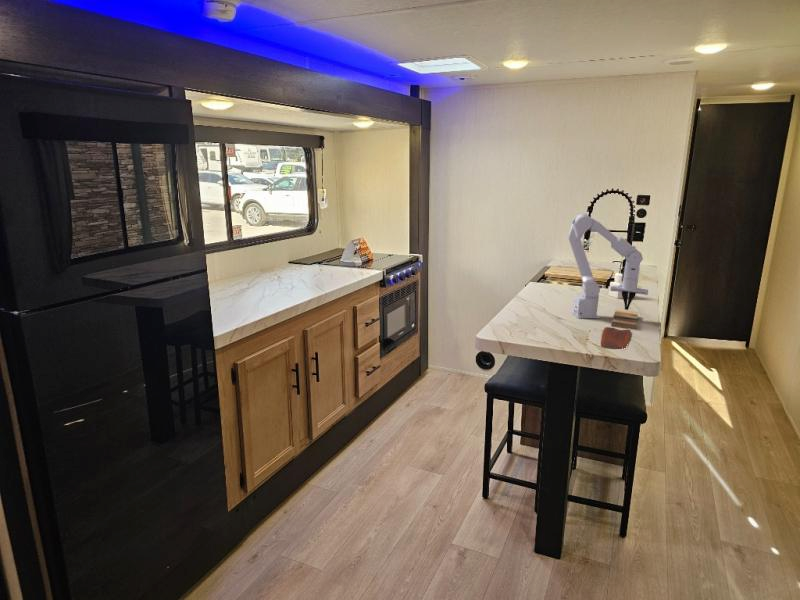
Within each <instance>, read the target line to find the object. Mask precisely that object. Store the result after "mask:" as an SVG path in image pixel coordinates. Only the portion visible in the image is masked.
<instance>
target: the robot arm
mask: <svg viewBox="0 0 800 600" xmlns="http://www.w3.org/2000/svg"><path fill="white" fill-rule="evenodd" d="M587 231H591V232H597V233H598V234H599V235H600V236H602V237H603V238H604V239H606V240H607V241H609V242H610V247H611V249H613V250H614V251H615V252H616V253H617V254H619V255H620V256H621V257H622V258H625V265H624V270H623V273H624V277H623V285H622V286H611V289H610V288H609V289H610V291H618V292H622V297H623V298H622V300H623V303H624V311H629V309H630V305H631V303H632V301H633V300H634V299H635V297H636V294H637V295H645V296H648V295H649V289H646V288H645V289H644V288H639V287H638V285H639V284H638V283H639V277H640V269H641V266H640V265H641V262H642V261H643V259H644V257H643V255H642V252H640V251H639V250H638V249H637V247H636V246H635V245H632V244H630V243H629V242H628V239H627V237H622V236H616V235H614V234H613V233H612V232H611V231H610V230H609V229H607V228H606V227H605V225H603V224H602V223H601V222H599V221H597V220H596V219H594V218H592V217H590V216H589V215H588V214H586V213H579V214H577V215H576V216H575V217H574V219H572V222H571V225H570V230H569V233H568V241H569V244H570V247H571V251H572V252H573V253H572V254H573V256H574V260H575V262H576V266H577V268H578V271H579V273H580V274H579V275H580V278H581V280H582V284H581V287H582V293H580V295H576V296H575V297H574V300H573V308H572V309H573V310H572V311H571V312H572V313H571V314H572V315H574V316H575V317H576V318H578V319H601V316H600V315H598V306H599V297H600V296H599V294H600V291H601V289H600V286H599V284H598V283H597V281H596V280H595V278H594V276H593V272H592V269H591V265H590V263H589V261H588V260H589V259H588V257H587V255H586V252H585V248H584V245H583V242H582V238H583V236H584V234H585V233H587ZM628 293H629V298H628Z"/></svg>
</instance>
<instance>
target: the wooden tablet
mask: <svg viewBox="0 0 800 600" xmlns="http://www.w3.org/2000/svg"><path fill="white" fill-rule="evenodd" d="M631 333H632V331H631V329H617V328H615V327H612V326H611V327H610V326H607V327H604V329H603V330H602V333H601V338H600V347H601V348H603V349H608V350H609V349H610V350H616V349H622V348H623V349H624V348H626V346H627V344H628V345H629V343H628V342H630V339H631Z"/></svg>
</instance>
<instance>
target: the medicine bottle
mask: <svg viewBox="0 0 800 600" xmlns="http://www.w3.org/2000/svg"><path fill="white" fill-rule="evenodd" d="M623 277H624V272H616V273H615V274H614V281H610V283H609V289H608V290H609V291H608V296H609V297H612V298H615V299H623V297H622V292H618V291H610V289H611V286H622V285H623ZM628 298H629V293H628Z"/></svg>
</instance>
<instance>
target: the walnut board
mask: <svg viewBox="0 0 800 600" xmlns="http://www.w3.org/2000/svg"><path fill="white" fill-rule="evenodd" d="M637 321H638V317H637V318H629V317H622V316H614V315H613V318H612V320H611V325H610V326H611V327H612V328H615V327H616V328H622V329H628V328H630V329H629V330H636V329H637V328H636V327H637Z"/></svg>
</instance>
